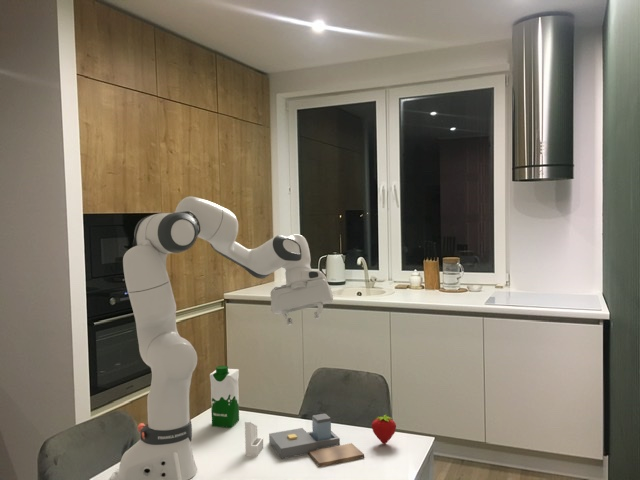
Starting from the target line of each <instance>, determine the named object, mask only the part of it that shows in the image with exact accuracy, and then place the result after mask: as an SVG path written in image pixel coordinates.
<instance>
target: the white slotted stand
mask: <svg viewBox="0 0 640 480" xmlns="http://www.w3.org/2000/svg"><path fill="white" fill-rule="evenodd" d="M244 435H245V436H244V439H245V441H244V443H245V456H249V457H258V456H259V455H260V454H261V453H262V451H263V449H264V438H263V437H258V425H256V424H254V423H253V422H251V421H250V422H249V421H245V422H244Z"/></svg>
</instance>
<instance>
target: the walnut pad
mask: <svg viewBox="0 0 640 480" xmlns="http://www.w3.org/2000/svg"><path fill="white" fill-rule="evenodd" d="M308 457H310V458H311V459H312V460H313V462H314V463H315V464H316V465H317V466H318V467H325V466H326V467H327V466H330V465H335V464H339V463H345V462H350V461H354V460H359V459H363V458H365V453H363V451H361V450H360V448H358V447H356V446H355V445H354V444H353V443H352V442H350V443H347V444H346V443H344V444H340V445H336V446H331V447H326V448H320V449H317V450H314V451H309V454H308Z"/></svg>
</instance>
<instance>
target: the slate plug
mask: <svg viewBox="0 0 640 480" xmlns="http://www.w3.org/2000/svg"><path fill="white" fill-rule="evenodd" d="M311 417H312V419H311V423H312V427H311V428H312V432H313V439H314V440H315V441H320V440H326V439H331V431H332V418H331V417H330V416H329V415H328V414H326V413H320V414H313V415H312V416H311Z"/></svg>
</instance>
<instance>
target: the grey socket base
mask: <svg viewBox="0 0 640 480" xmlns="http://www.w3.org/2000/svg"><path fill="white" fill-rule="evenodd" d="M268 435H269V436H268V442H269V445H270V446H271V448H273V450H274V451H275V453H276V454H277V455H278V457H279V458H280V459H281V460H283V459H288V458H292V457H298V456H303V455H307V454H308V455H309V451H314V450H319V449H324V448H329V447H334V446H340V445H341V444H340V443H341V441H340V440H341V439H340V437H339V436H337V434H335V433H334V432H333V431H332V430H331V439H326V440H320V441H315V440H314V439H313V431H309V432H307V431H306V430H305V429H304V428H303V427H299V428H293V429H289V430H282V431H276V432H271V433H268Z"/></svg>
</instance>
